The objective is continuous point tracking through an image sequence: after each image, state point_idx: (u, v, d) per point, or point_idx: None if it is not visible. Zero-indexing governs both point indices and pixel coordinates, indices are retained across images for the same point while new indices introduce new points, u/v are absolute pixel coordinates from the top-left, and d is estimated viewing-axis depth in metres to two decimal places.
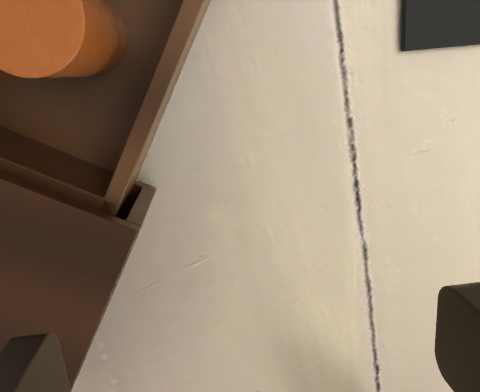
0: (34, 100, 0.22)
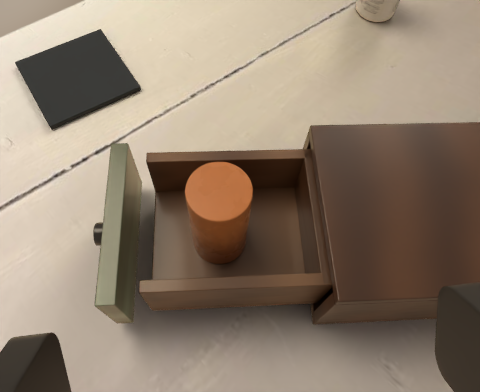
0: (276, 254, 0.31)
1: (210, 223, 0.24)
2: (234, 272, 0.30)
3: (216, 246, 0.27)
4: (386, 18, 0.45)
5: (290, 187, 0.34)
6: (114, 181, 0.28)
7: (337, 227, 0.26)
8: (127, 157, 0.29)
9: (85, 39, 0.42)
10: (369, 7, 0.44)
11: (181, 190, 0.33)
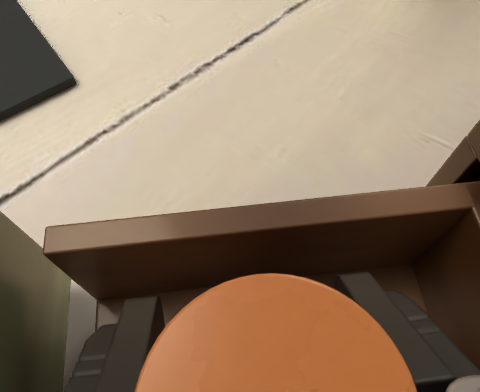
0: None
1: None
2: None
3: None
4: None
5: (401, 263, 0.15)
6: None
7: None
8: None
9: None
10: None
11: (155, 292, 0.14)
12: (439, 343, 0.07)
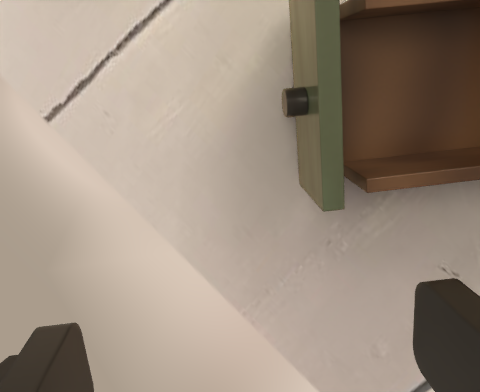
0: None
1: None
2: (431, 127, 0.26)
3: None
4: None
5: None
6: (326, 48, 0.20)
7: None
8: (338, 2, 0.20)
9: None
10: None
11: (370, 17, 0.24)
12: None
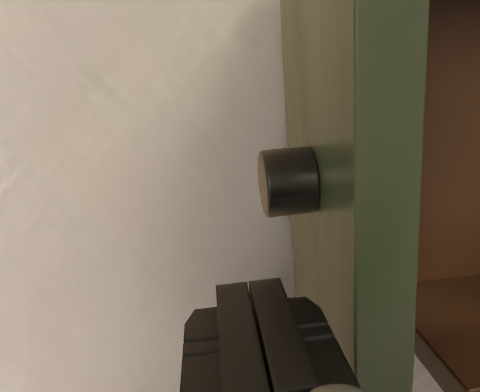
0: None
1: None
2: None
3: None
4: None
5: None
6: (385, 58, 0.06)
7: None
8: None
9: None
10: None
11: None
12: (327, 350, 0.07)
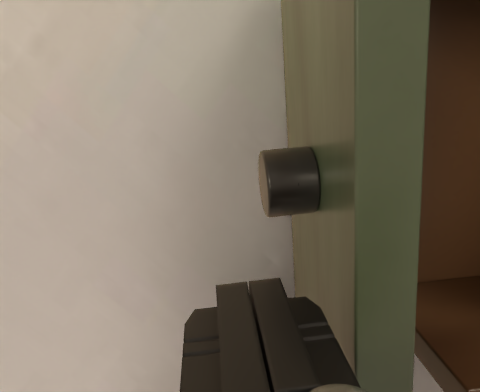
0: None
1: None
2: None
3: None
4: None
5: None
6: (386, 58, 0.06)
7: None
8: None
9: None
10: None
11: None
12: (327, 350, 0.07)
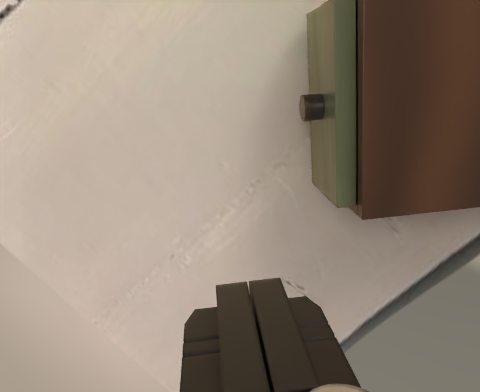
0: None
1: None
2: None
3: None
4: None
5: None
6: (343, 60, 0.22)
7: (375, 139, 0.23)
8: None
9: None
10: None
11: None
12: (327, 350, 0.07)
